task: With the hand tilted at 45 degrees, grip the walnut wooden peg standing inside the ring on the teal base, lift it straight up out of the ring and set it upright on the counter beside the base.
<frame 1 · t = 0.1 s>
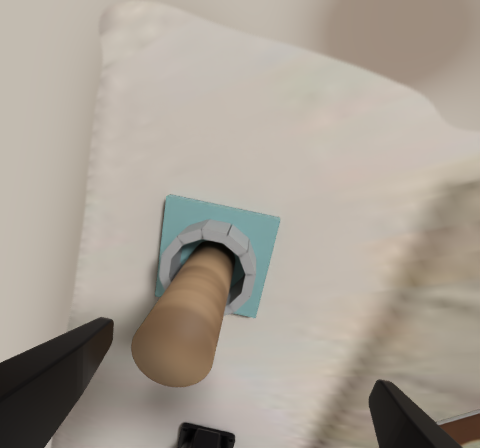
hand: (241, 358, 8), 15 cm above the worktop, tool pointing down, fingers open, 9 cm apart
walnut peg: (213, 260, 22), point 1 cm above the worktop, touching ring stand
ring stand: (215, 256, 23), on the worktop
food container: (457, 435, 27), on the worktop
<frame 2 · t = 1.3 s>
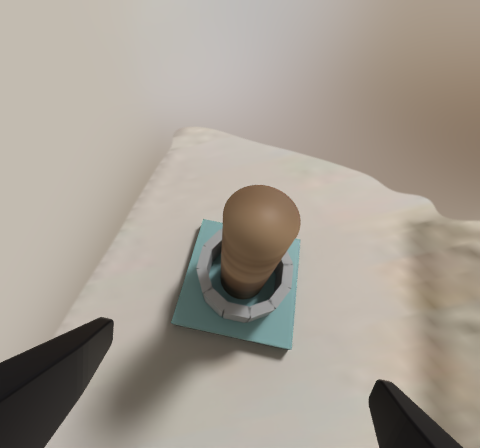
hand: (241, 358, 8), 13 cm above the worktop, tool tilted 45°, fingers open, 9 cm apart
walnut peg: (242, 276, 22), point 1 cm above the worktop, touching ring stand
ring stand: (241, 279, 23), on the worktop
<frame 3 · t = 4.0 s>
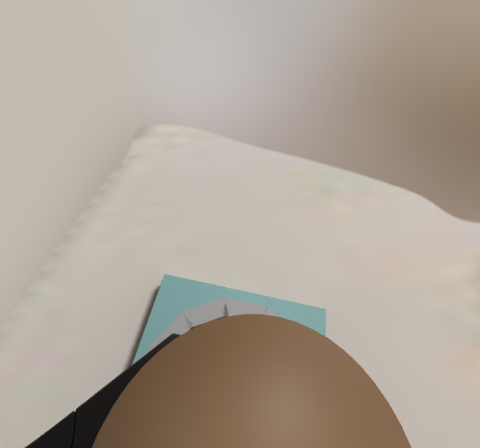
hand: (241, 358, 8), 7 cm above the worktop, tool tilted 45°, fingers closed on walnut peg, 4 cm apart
walnut peg: (226, 388, 12), point 1 cm above the worktop, touching gripper, ring stand
ring stand: (226, 386, 13), on the worktop
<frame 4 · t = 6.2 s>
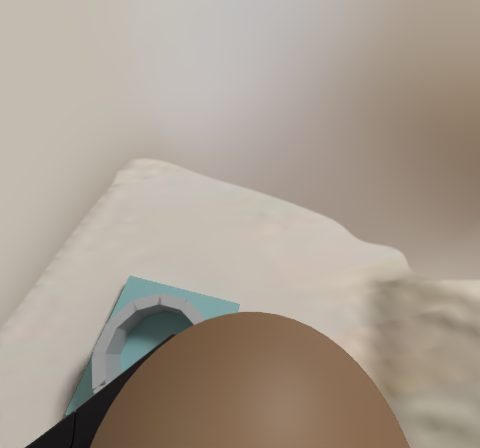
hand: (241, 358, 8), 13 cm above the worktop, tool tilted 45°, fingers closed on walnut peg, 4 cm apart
walnut peg: (226, 388, 12), point 8 cm above the worktop, touching gripper
ring stand: (164, 352, 20), on the worktop
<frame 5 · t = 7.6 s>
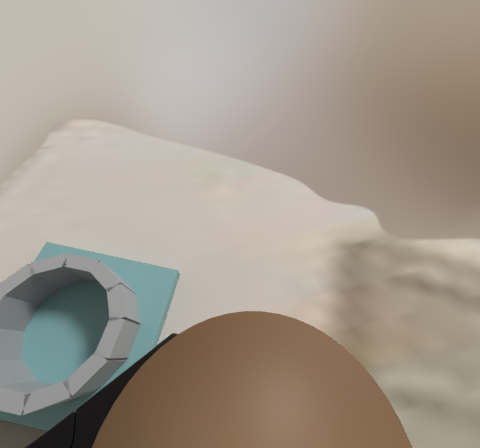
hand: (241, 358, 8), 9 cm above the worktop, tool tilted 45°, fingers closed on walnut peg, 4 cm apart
walnut peg: (226, 388, 12), point 4 cm above the worktop, touching gripper
ring stand: (84, 329, 16), on the worktop
when the fingers open (7 cm above the worktop, at t = 8.5 s): walnut peg drops 1 cm, on the worktop.
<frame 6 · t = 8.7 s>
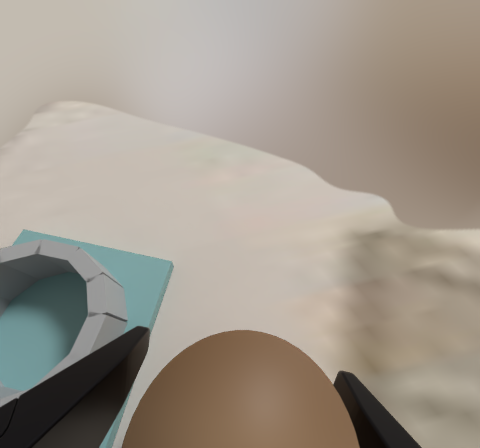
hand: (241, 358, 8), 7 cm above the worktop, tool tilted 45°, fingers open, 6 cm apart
walnut peg: (225, 386, 14), on the worktop
ring stand: (64, 328, 14), on the worktop
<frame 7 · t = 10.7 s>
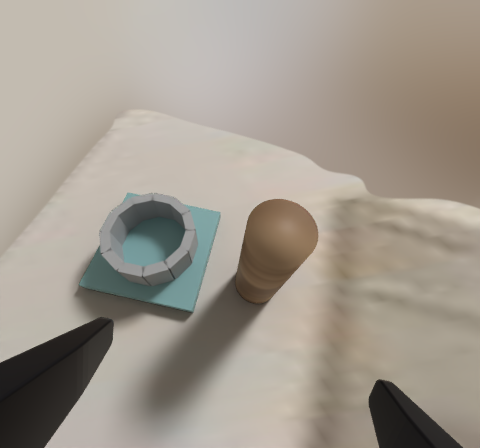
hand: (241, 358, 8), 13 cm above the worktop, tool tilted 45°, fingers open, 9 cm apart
walnut peg: (256, 281, 23), on the worktop
ring stand: (158, 249, 24), on the worktop
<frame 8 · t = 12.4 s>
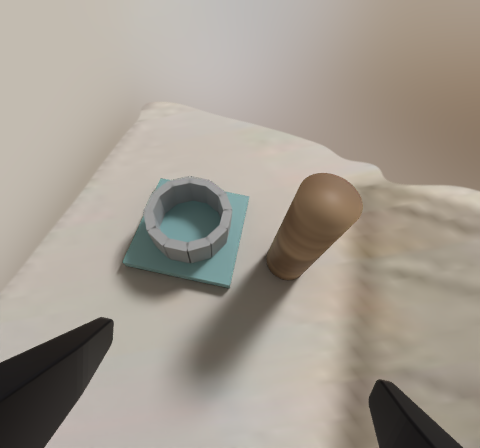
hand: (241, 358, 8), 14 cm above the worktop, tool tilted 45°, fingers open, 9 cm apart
walnut peg: (286, 260, 25), on the worktop
ring stand: (192, 230, 25), on the worktop
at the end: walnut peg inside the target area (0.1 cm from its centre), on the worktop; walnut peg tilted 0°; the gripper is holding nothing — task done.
